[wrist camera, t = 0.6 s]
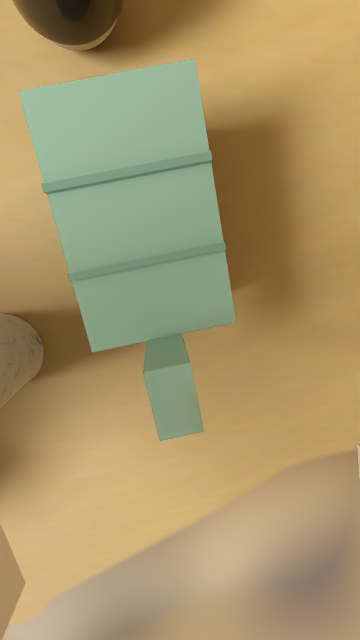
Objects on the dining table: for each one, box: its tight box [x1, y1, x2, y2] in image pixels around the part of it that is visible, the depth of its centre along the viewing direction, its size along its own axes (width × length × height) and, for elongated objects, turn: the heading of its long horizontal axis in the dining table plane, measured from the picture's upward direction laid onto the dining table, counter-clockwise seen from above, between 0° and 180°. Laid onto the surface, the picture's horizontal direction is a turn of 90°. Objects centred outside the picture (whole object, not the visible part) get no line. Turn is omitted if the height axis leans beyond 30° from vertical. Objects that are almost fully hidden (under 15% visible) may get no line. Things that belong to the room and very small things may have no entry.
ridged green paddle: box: [18, 59, 236, 441], centre depth 20 cm, size 13×25×8 cm, turn 11°
